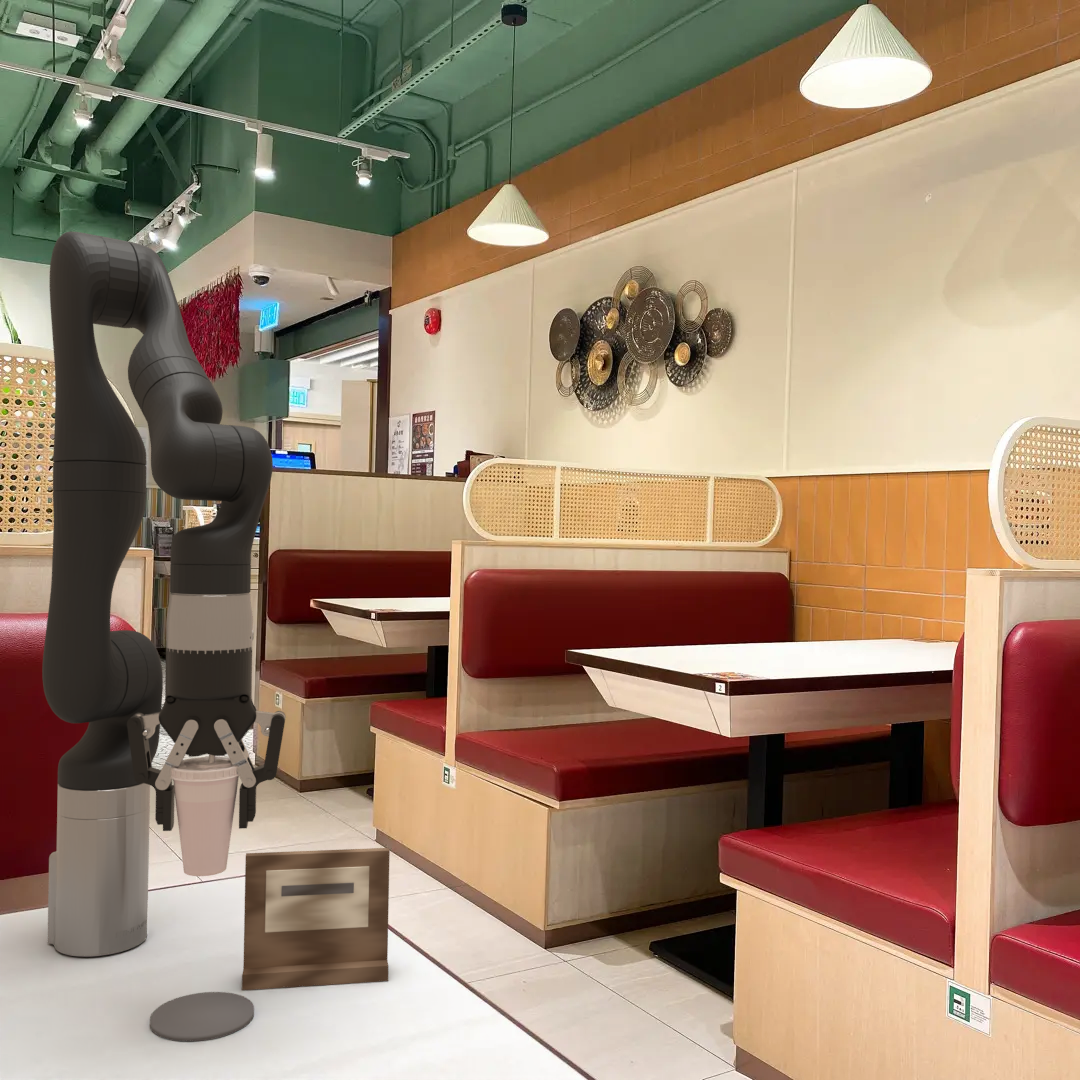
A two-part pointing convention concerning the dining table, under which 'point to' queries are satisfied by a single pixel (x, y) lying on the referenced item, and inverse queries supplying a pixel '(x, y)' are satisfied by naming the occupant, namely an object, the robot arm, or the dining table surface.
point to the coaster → (202, 1016)
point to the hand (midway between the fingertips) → (206, 826)
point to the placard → (316, 918)
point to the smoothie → (205, 812)
